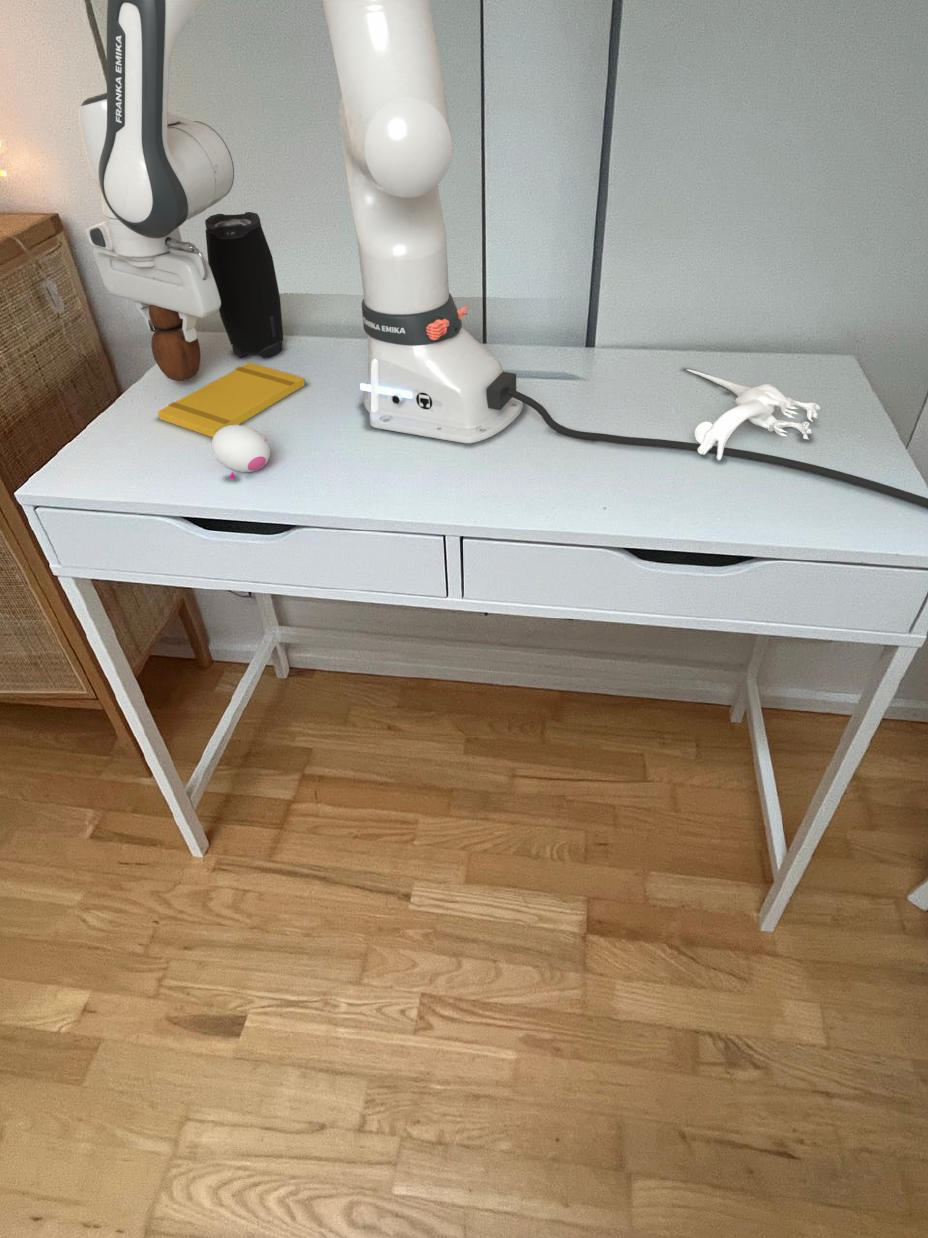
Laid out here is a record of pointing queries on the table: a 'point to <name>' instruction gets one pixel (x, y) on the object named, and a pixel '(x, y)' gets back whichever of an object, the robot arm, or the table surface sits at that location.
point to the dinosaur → (750, 414)
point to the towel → (231, 399)
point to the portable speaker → (245, 283)
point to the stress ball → (240, 448)
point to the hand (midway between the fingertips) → (173, 335)
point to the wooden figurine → (173, 345)
